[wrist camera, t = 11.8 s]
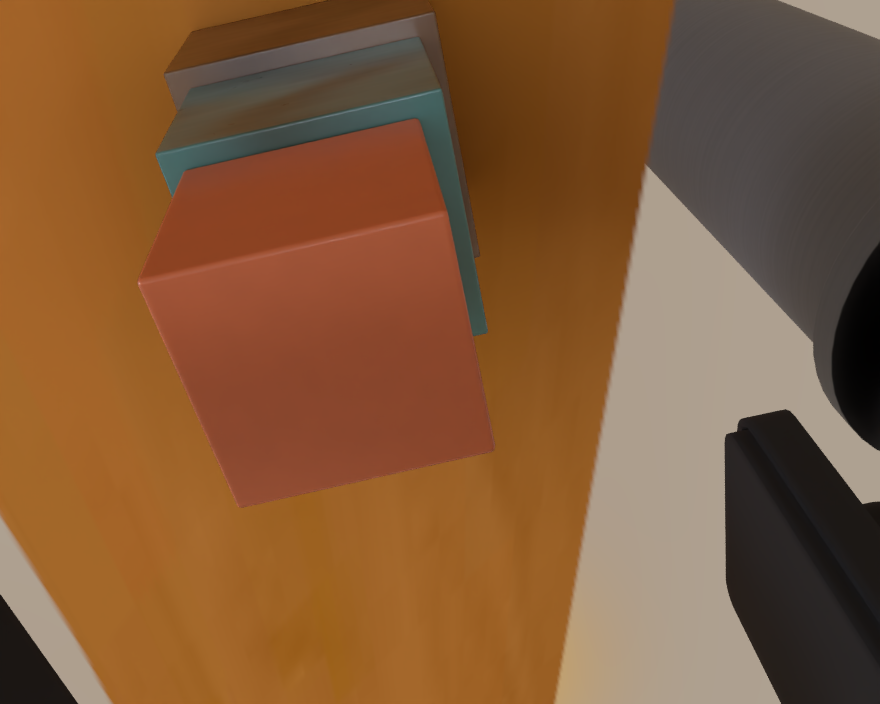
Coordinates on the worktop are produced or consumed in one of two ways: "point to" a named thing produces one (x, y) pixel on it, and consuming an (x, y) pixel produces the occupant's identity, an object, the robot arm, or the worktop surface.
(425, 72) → the block stack
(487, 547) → the worktop surface
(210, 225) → the toy cube
